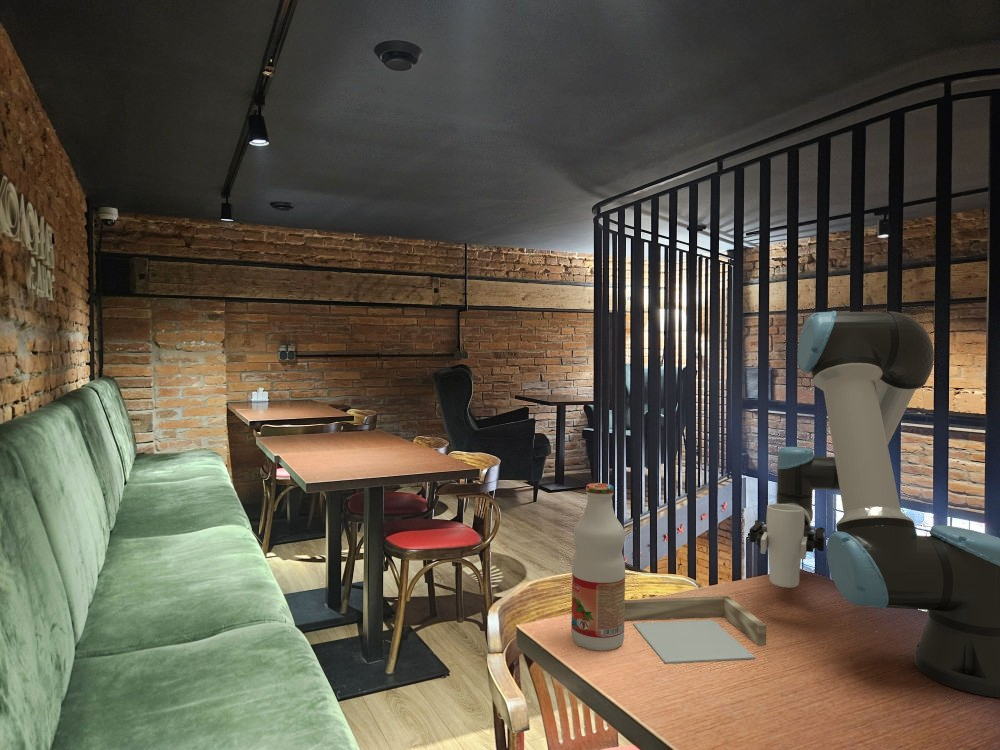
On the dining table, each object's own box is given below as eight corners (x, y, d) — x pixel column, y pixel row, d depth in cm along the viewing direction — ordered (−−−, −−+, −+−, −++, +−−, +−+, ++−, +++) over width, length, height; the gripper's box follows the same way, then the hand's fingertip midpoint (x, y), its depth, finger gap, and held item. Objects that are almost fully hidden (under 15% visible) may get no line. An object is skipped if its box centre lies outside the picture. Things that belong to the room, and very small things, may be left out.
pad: (755, 659, 111) (755, 657, 111) (665, 663, 109) (665, 661, 109) (712, 621, 127) (712, 619, 127) (633, 624, 125) (633, 623, 125)
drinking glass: (761, 585, 127) (763, 507, 127) (769, 576, 132) (771, 502, 132) (799, 592, 123) (801, 512, 123) (806, 582, 128) (807, 506, 128)
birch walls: (766, 644, 117) (766, 625, 117) (638, 651, 114) (639, 631, 113) (727, 613, 131) (727, 595, 131) (613, 618, 128) (613, 600, 128)
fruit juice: (623, 654, 112) (626, 491, 111) (568, 649, 114) (570, 489, 113) (624, 632, 121) (627, 481, 121) (573, 627, 123) (575, 479, 123)
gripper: (840, 546, 139) (840, 577, 119) (744, 535, 148) (728, 561, 128) (840, 511, 139) (840, 535, 119) (744, 502, 148) (729, 523, 127)
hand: (782, 549), depth 123 cm, fingers closed on drinking glass, 6 cm apart
